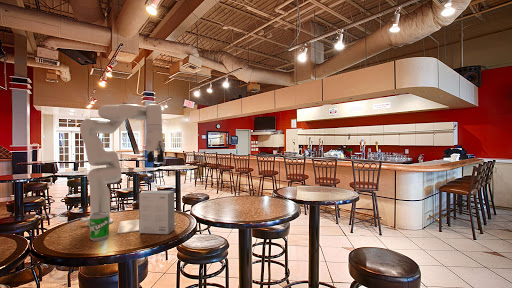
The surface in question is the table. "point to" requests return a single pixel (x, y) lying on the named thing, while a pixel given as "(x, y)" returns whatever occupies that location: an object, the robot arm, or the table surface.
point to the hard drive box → (156, 212)
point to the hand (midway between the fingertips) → (155, 162)
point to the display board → (129, 226)
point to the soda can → (99, 226)
